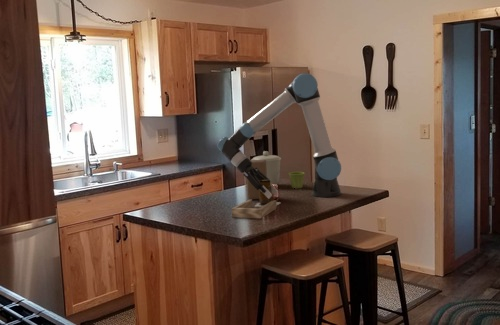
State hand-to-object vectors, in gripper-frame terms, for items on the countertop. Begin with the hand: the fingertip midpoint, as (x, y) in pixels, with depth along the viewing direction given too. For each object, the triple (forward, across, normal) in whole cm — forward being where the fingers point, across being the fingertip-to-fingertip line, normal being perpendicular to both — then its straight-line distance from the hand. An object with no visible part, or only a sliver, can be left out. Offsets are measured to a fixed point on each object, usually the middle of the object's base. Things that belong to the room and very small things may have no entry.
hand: (273, 195), depth 255 cm
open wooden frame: (+1, +16, -6) cm, 17 cm away
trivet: (+1, 0, -6) cm, 6 cm away
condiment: (+1, +1, -6) cm, 6 cm away
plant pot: (+1, -48, -6) cm, 48 cm away
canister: (-13, -52, -20) cm, 57 cm away
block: (-7, -17, -15) cm, 24 cm away
